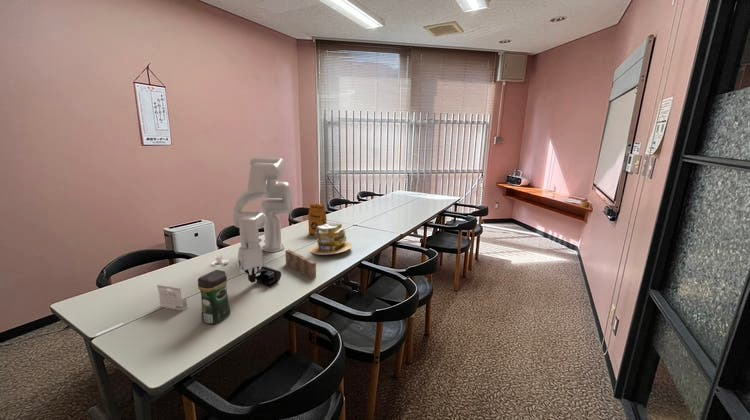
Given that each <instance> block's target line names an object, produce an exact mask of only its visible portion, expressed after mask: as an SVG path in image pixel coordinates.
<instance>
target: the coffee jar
mask: <svg viewBox="0 0 750 420" xmlns="http://www.w3.org/2000/svg"><path fill="white" fill-rule="evenodd" d="M227 284H228V278H227V274H226V272H225V270H221V269H215V270H212V271H210V272H208V273H206V274H204V275H202V276H200V277H199V278H197V287H198V290H199V291H200V295H201V296H200V297H201V320H202V322H203V323H206V324H208V325H215V324H218V323H220V322H221V321H223V320H224V319H226V318H227V317H229V315H231V307H230V301H229V296H228V291H227Z"/></svg>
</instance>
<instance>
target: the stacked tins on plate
mask: <svg viewBox="0 0 750 420" xmlns="http://www.w3.org/2000/svg"><path fill="white" fill-rule="evenodd" d="M314 236H315V238H317V239H318V240H317V246H315V247H312V249H311V250H310V251H311V253H312V254H315V255H322V256H323V255H325V256H327V255H335V254H339V253H343V252H346V251H348V250H350V249H351V248H353V244H352V243H351V242H347V235H346V230H345V228H342V222H336V223H335V222H329V223H327V224H324V225H322V226H317V228H316V233H315V235H314Z"/></svg>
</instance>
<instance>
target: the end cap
mask: <svg viewBox="0 0 750 420" xmlns="http://www.w3.org/2000/svg"><path fill="white" fill-rule="evenodd" d="M281 278H282V272H281V271H280V270H278V269H274V268H272V267H268V266H267V265H266V266H265V265H263V266H262V267H261V268H259V269H258V271H257V273H256V282H255V283H257V284H260V285H263V286H265V287H268V288H271V287H273V286H276V285H277V283H278V282H280V280H281Z"/></svg>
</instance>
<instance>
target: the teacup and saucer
mask: <svg viewBox="0 0 750 420" xmlns="http://www.w3.org/2000/svg"><path fill="white" fill-rule="evenodd" d="M223 257H224V256H223V255H216V256H215V258H214V259H215V261H213V262H212V263H211V265H212V266H214V267H221V266H224V265H228V264H229V263H230V261H229V260H227V259H223ZM215 263H217V264H215Z"/></svg>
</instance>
